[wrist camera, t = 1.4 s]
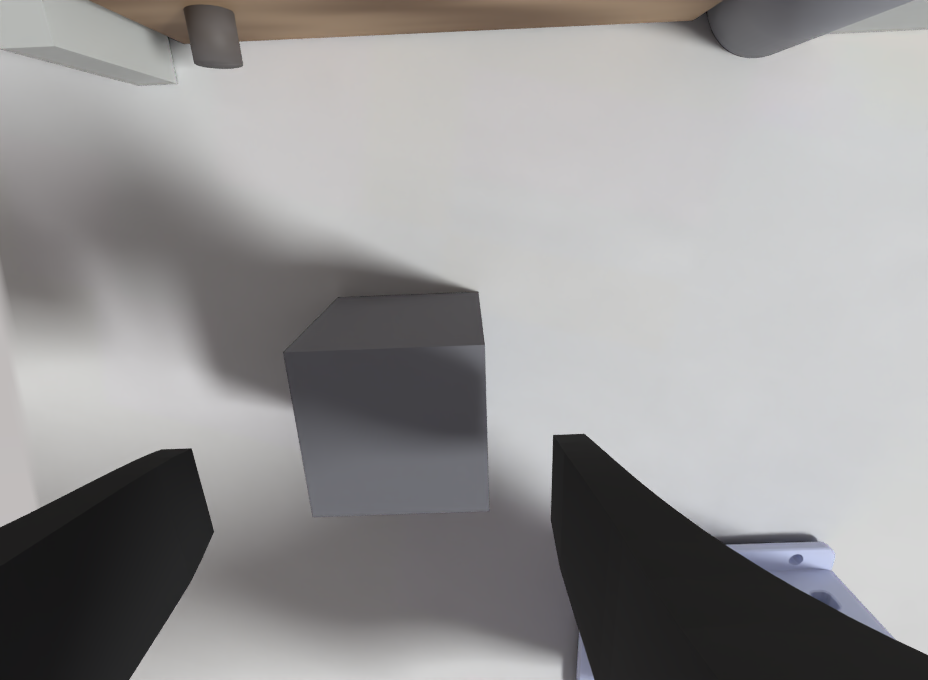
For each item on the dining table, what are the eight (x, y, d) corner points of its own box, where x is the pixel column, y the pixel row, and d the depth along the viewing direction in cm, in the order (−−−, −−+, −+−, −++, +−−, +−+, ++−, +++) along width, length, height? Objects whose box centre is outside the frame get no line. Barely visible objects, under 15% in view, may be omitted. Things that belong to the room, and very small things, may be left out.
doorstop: (478, 291, 15) (484, 344, 11) (482, 415, 17) (489, 510, 12) (338, 296, 15) (283, 352, 11) (355, 420, 17) (312, 517, 12)
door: (698, -35, 12) (804, -129, 8) (688, 63, 13) (781, 19, 9) (172, -10, 12) (43, -91, 8) (192, 86, 13) (82, 51, 9)
